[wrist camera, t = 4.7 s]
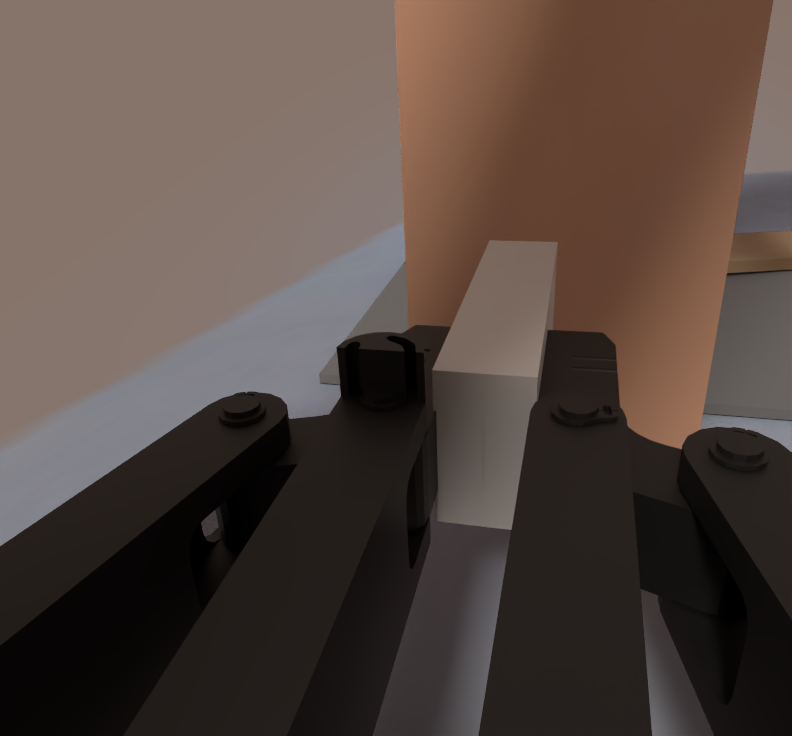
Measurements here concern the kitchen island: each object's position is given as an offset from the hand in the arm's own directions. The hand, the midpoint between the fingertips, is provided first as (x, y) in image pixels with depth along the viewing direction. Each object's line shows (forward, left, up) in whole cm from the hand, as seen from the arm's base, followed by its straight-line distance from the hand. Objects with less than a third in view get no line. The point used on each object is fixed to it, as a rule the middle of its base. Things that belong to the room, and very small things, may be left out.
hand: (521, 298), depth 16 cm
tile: (-1, -6, -7) cm, 9 cm away
